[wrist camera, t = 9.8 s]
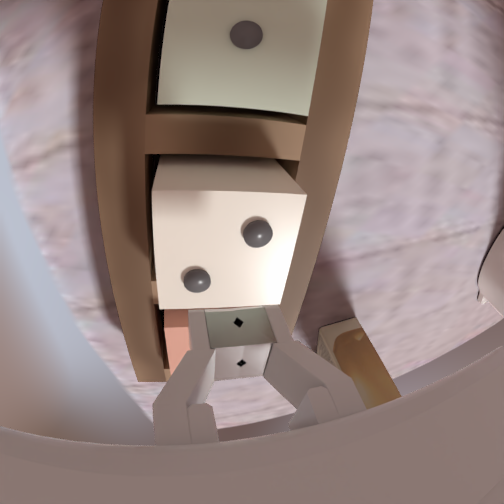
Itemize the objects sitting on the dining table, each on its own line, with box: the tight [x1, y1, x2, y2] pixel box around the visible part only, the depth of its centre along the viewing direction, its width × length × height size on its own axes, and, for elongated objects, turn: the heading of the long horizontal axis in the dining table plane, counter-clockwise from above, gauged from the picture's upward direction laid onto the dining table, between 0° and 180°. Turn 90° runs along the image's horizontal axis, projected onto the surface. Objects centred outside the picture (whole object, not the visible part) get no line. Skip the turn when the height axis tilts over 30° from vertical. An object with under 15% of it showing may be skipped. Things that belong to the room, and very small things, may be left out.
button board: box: [93, 0, 373, 382], centre depth 16 cm, size 12×29×4 cm, turn 172°
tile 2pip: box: [152, 154, 307, 309], centre depth 14 cm, size 6×6×5 cm
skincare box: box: [317, 317, 402, 409], centre depth 25 cm, size 6×4×12 cm
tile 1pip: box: [157, 0, 327, 116], centre depth 11 cm, size 6×6×5 cm
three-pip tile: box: [164, 306, 255, 375], centre depth 21 cm, size 6×6×5 cm
